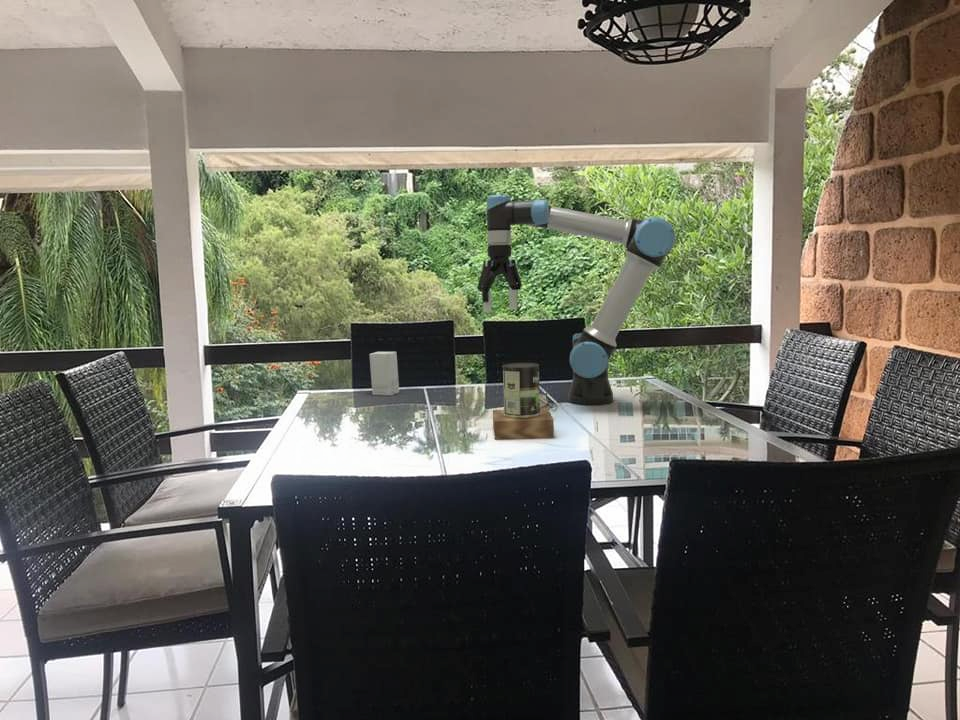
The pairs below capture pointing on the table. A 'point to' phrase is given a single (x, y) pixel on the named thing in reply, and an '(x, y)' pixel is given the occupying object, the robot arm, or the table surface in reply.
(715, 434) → the table surface
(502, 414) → the teak block
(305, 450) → the table surface
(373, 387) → the skincare box
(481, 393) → the table surface
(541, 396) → the game die
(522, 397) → the coffee can
